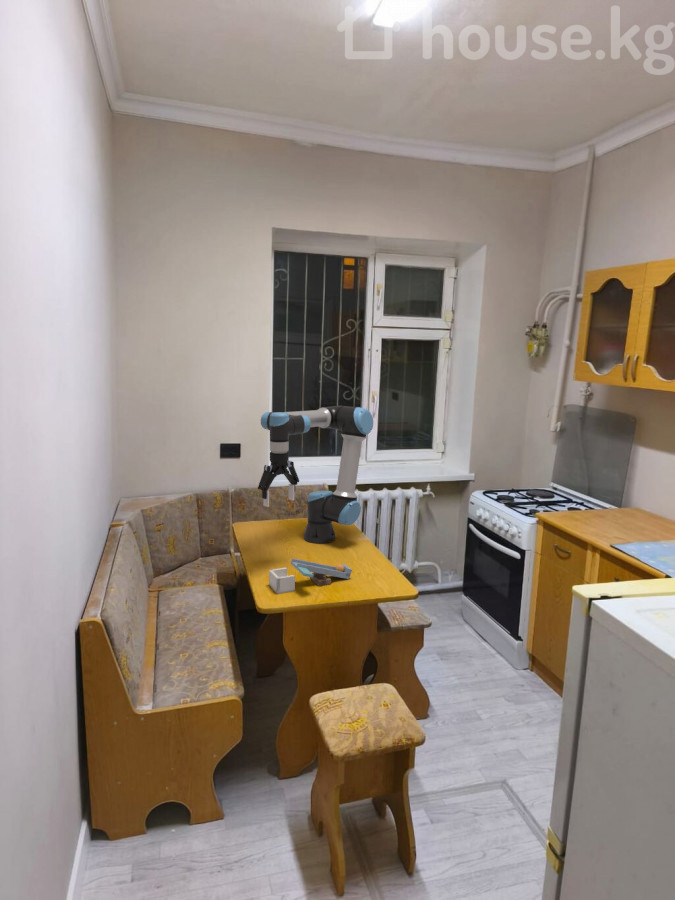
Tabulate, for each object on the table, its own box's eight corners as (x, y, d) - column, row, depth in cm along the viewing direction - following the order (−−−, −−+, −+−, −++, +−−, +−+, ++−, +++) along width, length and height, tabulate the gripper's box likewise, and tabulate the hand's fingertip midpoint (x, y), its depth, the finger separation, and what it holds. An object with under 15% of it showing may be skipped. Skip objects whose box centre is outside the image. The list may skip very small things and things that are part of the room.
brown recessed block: (321, 575, 234) (321, 567, 234) (330, 584, 227) (331, 575, 226) (309, 577, 232) (310, 569, 232) (319, 586, 224) (319, 577, 224)
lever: (342, 573, 237) (345, 564, 237) (357, 585, 225) (360, 576, 225) (290, 563, 226) (293, 553, 225) (303, 575, 214) (306, 565, 214)
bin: (286, 581, 228) (286, 567, 227) (294, 590, 220) (294, 575, 219) (269, 584, 225) (269, 570, 224) (277, 593, 217) (277, 578, 216)
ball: (339, 572, 235) (343, 564, 235) (343, 575, 232) (347, 567, 232) (332, 569, 233) (336, 561, 233) (336, 572, 230) (340, 564, 230)
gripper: (295, 446, 243) (295, 495, 247) (248, 454, 225) (248, 507, 229) (308, 448, 238) (307, 499, 242) (261, 457, 220) (261, 511, 224)
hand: (279, 503), depth 235 cm, fingers open, 13 cm apart
